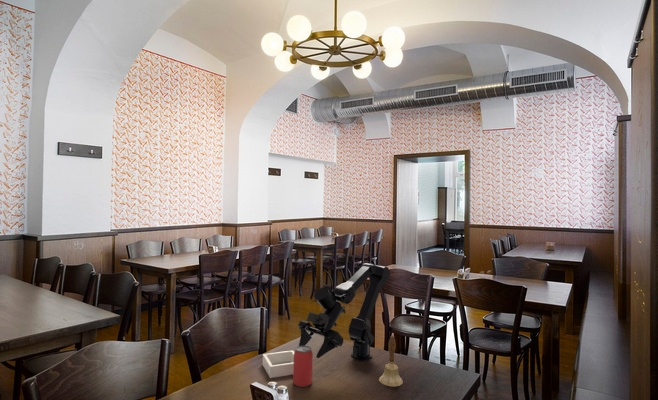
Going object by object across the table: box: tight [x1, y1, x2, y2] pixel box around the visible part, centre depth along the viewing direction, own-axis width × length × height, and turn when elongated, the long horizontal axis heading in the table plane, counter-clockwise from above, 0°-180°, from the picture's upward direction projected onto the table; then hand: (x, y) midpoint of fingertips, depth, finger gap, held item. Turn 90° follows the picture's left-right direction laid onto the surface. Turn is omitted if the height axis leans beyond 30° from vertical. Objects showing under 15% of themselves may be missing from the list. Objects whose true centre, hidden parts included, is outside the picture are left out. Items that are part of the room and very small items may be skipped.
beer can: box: [292, 345, 314, 388], centre depth 132 cm, size 7×7×12 cm
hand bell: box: [378, 335, 404, 388], centre depth 135 cm, size 8×8×16 cm
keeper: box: [262, 350, 295, 379], centre depth 143 cm, size 12×12×4 cm
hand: (307, 353), depth 134 cm, fingers open, 9 cm apart
